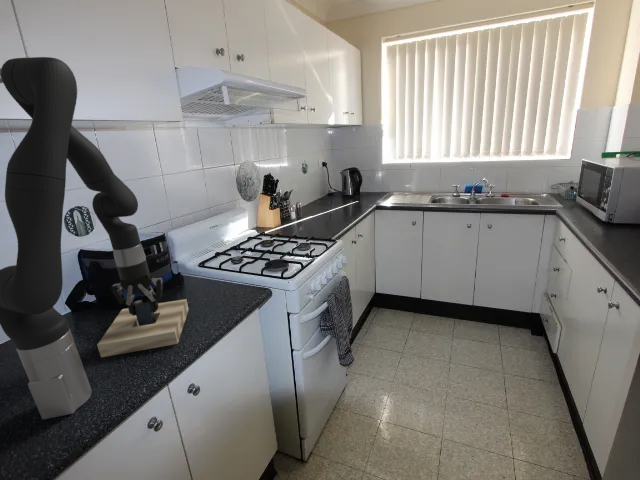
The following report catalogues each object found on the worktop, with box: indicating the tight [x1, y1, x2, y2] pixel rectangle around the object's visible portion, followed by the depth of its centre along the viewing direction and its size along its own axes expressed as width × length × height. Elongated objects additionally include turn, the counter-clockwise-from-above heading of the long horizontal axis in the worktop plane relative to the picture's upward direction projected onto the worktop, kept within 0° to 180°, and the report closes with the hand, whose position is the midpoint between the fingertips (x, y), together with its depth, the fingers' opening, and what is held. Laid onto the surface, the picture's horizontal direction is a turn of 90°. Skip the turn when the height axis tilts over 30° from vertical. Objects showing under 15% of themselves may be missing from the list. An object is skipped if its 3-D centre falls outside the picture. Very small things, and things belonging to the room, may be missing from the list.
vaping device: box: [133, 293, 156, 326], centre depth 101 cm, size 3×5×12 cm, turn 89°
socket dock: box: [96, 298, 190, 358], centre depth 103 cm, size 20×20×4 cm
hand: (145, 312), depth 101 cm, fingers closed on vaping device, 5 cm apart
